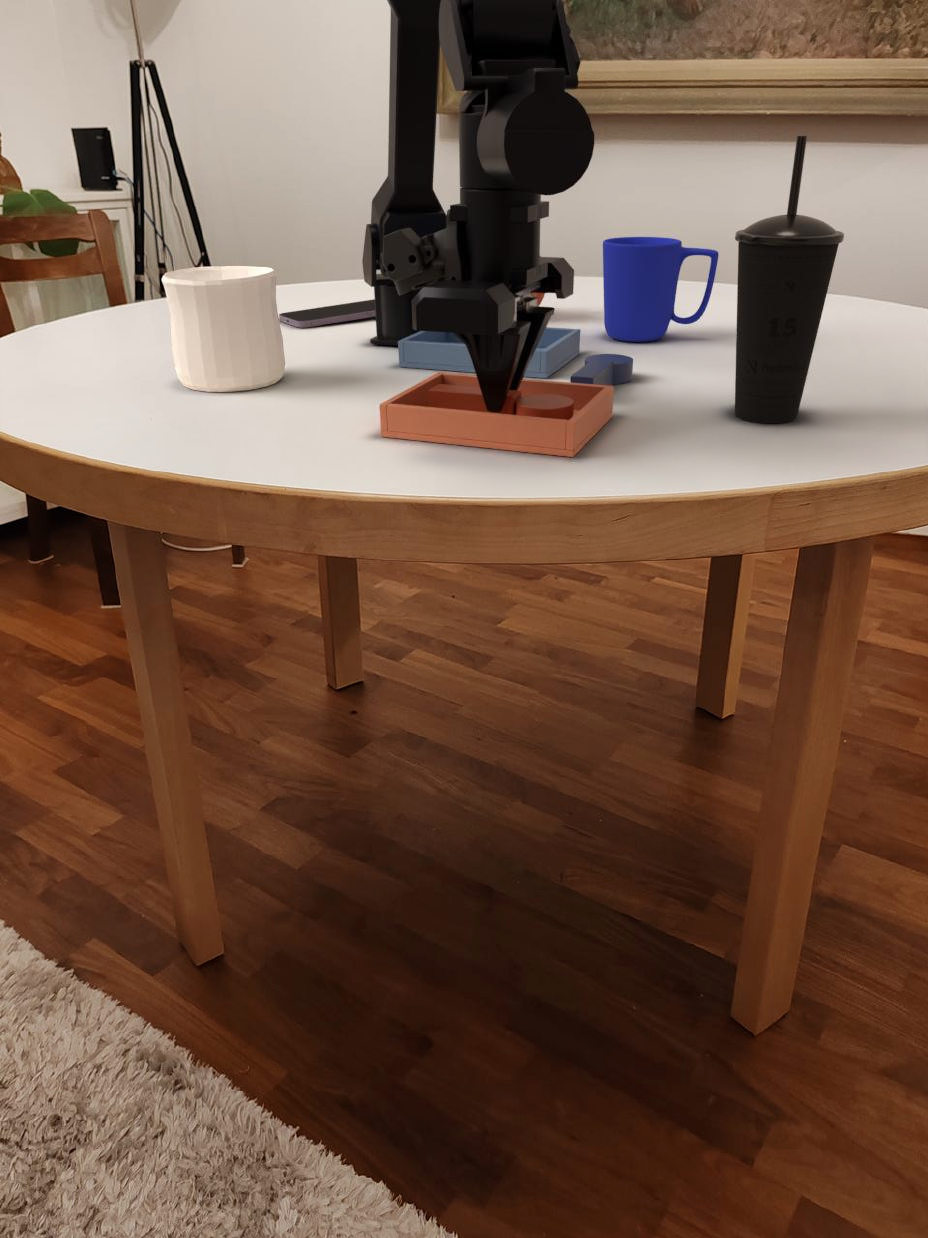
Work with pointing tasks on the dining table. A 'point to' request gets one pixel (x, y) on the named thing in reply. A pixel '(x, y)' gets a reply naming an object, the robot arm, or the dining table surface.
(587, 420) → the terracotta tray
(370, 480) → the dining table surface
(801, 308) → the drinking cup
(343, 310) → the smartphone
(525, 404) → the terracotta spoon
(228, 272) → the cup
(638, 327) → the mug
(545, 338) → the blue tray
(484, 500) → the dining table surface
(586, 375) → the blue spoon
